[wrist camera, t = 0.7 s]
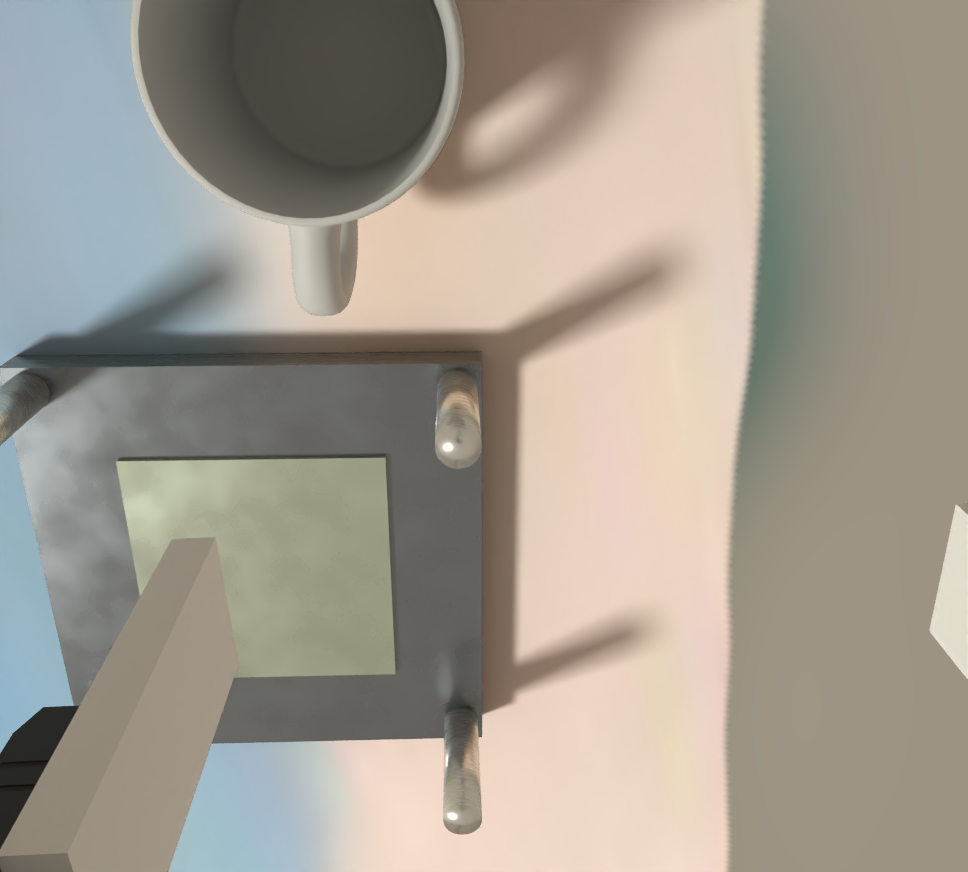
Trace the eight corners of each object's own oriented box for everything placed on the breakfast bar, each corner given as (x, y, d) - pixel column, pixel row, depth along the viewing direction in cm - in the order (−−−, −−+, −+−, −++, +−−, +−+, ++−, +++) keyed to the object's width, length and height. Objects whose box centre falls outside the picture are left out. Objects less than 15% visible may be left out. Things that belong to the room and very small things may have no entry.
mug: (217, -84, 31) (102, -149, 21) (465, -72, 31) (473, -130, 21) (240, 265, 35) (157, 350, 25) (456, 271, 36) (458, 358, 26)
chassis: (14, 356, 36) (-87, 427, 30) (480, 351, 37) (487, 420, 30) (94, 724, 44) (28, 849, 37) (480, 715, 45) (486, 837, 38)
